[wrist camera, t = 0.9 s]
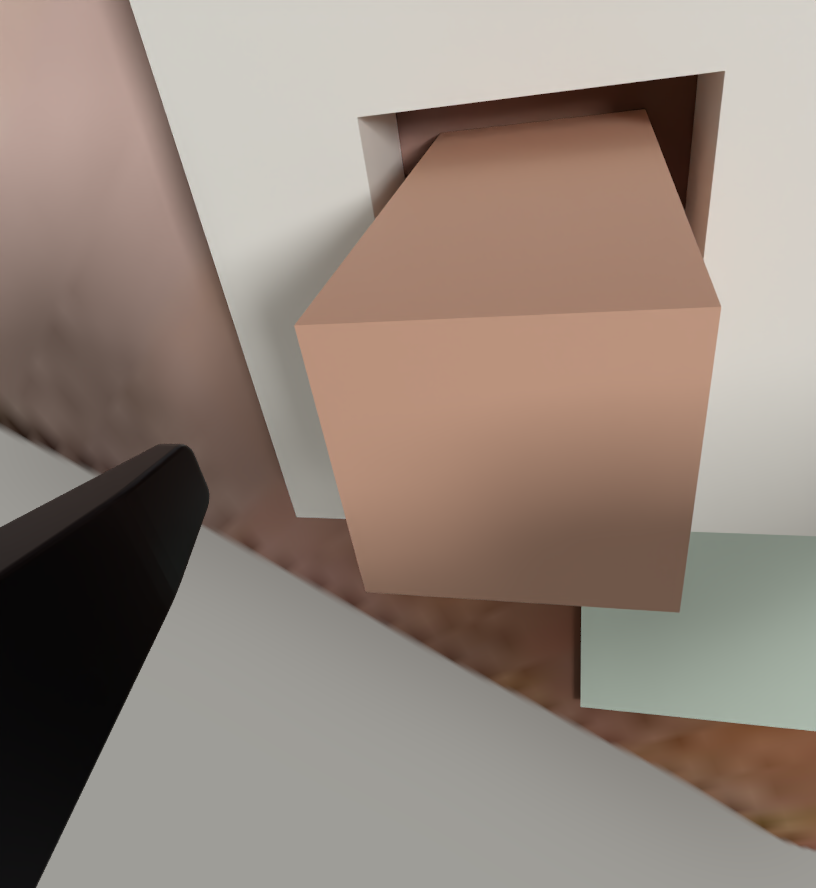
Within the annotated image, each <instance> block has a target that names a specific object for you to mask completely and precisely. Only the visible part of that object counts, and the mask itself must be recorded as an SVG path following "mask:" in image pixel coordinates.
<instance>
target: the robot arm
mask: <svg viewBox="0 0 816 888" xmlns="http://www.w3.org/2000/svg"><path fill="white" fill-rule="evenodd" d="M208 504H209V490H208V487H207V484H206V482H205V479H204V477H203V475H202V472H201V470H200V467H199V465H198V462H197V460H196V458H195V455H194V453H193V451H192V450H191V449H190V448H189V447H188V446H187V445H184V444H160V445H157V446H154V447H153V448H151V449H149V450H147V451H145V452H143V453H141V454H139V455H137V456H135V457H133V458H132V459H130V460H128V461H126V462H124V463H122V464H120V465H118V466H116V467H114V468H113V469H111V470H109V471H107V472H105V473H103V474H101V475H99V476H97V477H95V478H94V479H92V480H90V481H88V482H86V483H84V484H82V485H80V486H78V487H76V488H74V489H72V490H71V491H69V492H67V493H65V494H63V495H61V496H59V497H57V498H55V499H53V500H52V501H50V502H48V503H46V504H44V505H42V506H40V507H38V508H36V509H34V510H32V511H30V512H29V513H27V514H25V515H23V516H21V517H19V518H17V519H15V520H13V521H12V522H10V523H8V524H6V525H4V526H2V527H0V888H36V886H37V884H38V882H39V880H40V878H41V876H42V874H43V872H44V870H45V868H46V866H47V864H48V862H49V859H50V857H51V855H52V853H53V851H54V849H55V847H56V845H57V843H58V841H59V839H60V836H61V834H62V832H63V830H64V828H65V826H66V824H67V822H68V820H69V818H70V816H71V814H72V812H73V809H74V807H75V805H76V803H77V801H78V799H79V797H80V795H81V793H82V791H83V788H84V787H85V784H86V782H87V780H88V778H89V776H90V774H91V772H92V770H93V768H94V766H95V763H96V762H97V759H98V757H99V755H100V753H101V751H102V749H103V747H104V745H105V743H106V741H107V739H108V736H109V734H110V732H111V730H112V728H113V726H114V724H115V722H116V720H117V718H118V716H119V714H120V711H121V709H122V707H123V705H124V703H125V701H126V699H127V697H128V695H129V692H130V691H131V689H132V686H133V684H134V682H135V680H136V678H137V676H138V674H139V672H140V670H141V668H142V666H143V663H144V661H145V659H146V657H147V655H148V653H149V651H150V649H151V647H152V645H153V643H154V640H155V639H156V636H157V634H158V632H159V630H160V628H161V626H162V624H163V622H164V620H165V617H166V615H167V613H168V611H169V609H170V607H171V605H172V603H173V600H174V598H175V595H176V593H177V591H178V588H179V585H180V583H181V580H182V578H183V575H184V572H185V569H186V566H187V564H188V560H189V558H190V555H191V552H192V549H193V547H194V544H195V541H196V538H197V535H198V533H199V530H200V527H201V524H202V522H203V519H204V516H205V513H206V510H207V508H208Z"/></svg>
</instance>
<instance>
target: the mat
mask: <svg viewBox="0 0 816 888" xmlns="http://www.w3.org/2000/svg"><path fill="white" fill-rule="evenodd" d="M581 707H587V708H597V709H607V710H616V711H626V712H636V713H645V714H655V715H665V716H674V717H684V718H694V719H703V720H713V721H723V722H732V723H742V724H751V725H761V726H771V727H780V728H790V729H800V730H809V731H816V536H795V535H768V534H741V533H714V532H691V533H690V540H689V547H688V555H687V562H686V569H685V577H684V584H683V591H682V598H681V606H680V613H677V612H662V611H646V610H631V609H615V608H600V607H585V606H581Z"/></svg>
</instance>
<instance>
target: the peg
mask: <svg viewBox="0 0 816 888" xmlns="http://www.w3.org/2000/svg"><path fill="white" fill-rule="evenodd" d="M720 313H721V304H720V302H719V299H718V297H717V294H716V292H715V289H714V286H713V284H712V281H711V279H710V276H709V273H708V271H707V268H706V266H705V263H704V260H703V258H702V255H701V253H700V250H699V247H698V245H697V242H696V240H695V237H694V235H693V232H692V229H691V227H690V224H689V222H688V219H687V216H686V214H685V211H684V209H683V206H682V203H681V201H680V198H679V196H678V193H677V190H676V188H675V185H674V183H673V180H672V177H671V175H670V172H669V170H668V167H667V165H666V162H665V159H664V157H663V154H662V152H661V149H660V146H659V144H658V141H657V139H656V136H655V133H654V131H653V128H652V126H651V123H650V120H649V118H648V115H647V113H646V110H645V109H642V110H633V111H624V112H616V113H607V114H599V115H590V116H582V117H573V118H564V119H556V120H547V121H539V122H530V123H522V124H513V125H505V126H496V127H487V128H479V129H470V130H462V131H453V132H445V133H440V135H439V136H438V137H437V139H436V140H435V141H434V143H433V144H432V145H431V146H430V148H429V149H428V150H427V152H426V153H425V154H424V156H423V157H422V158H421V160H420V161H419V162H418V164H417V165H416V166H415V167H414V169H413V170H412V171H411V173H410V174H409V175H408V177H407V178H406V179H405V181H404V182H403V183H402V185H401V186H400V187H399V188H398V190H397V191H396V192H395V194H394V195H393V196H392V198H391V199H390V200H389V202H388V203H387V204H386V206H385V207H384V208H383V209H382V211H381V212H380V213H379V215H378V216H377V217H376V219H375V220H374V221H373V223H372V224H371V225H370V227H369V228H368V229H367V230H366V232H365V233H364V234H363V236H362V237H361V238H360V240H359V241H358V242H357V244H356V245H355V246H354V248H353V249H352V250H351V251H350V253H349V254H348V255H347V257H346V258H345V259H344V261H343V262H342V263H341V265H340V266H339V267H338V269H337V270H336V271H335V272H334V274H333V275H332V276H331V278H330V279H329V280H328V282H327V283H326V284H325V286H324V287H323V288H322V290H321V291H320V292H319V293H318V295H317V296H316V297H315V299H314V300H313V301H312V303H311V304H310V305H309V307H308V308H307V309H306V311H305V312H304V313H303V314H302V316H301V317H300V318H299V320H298V321H297V322H296V324H295V325H294V327H295V331H296V334H297V338H298V342H299V346H300V349H301V353H302V357H303V361H304V364H305V368H306V372H307V375H308V379H309V383H310V387H311V390H312V394H313V398H314V402H315V405H316V409H317V413H318V417H319V420H320V424H321V428H322V431H323V435H324V439H325V443H326V446H327V450H328V454H329V458H330V461H331V465H332V469H333V473H334V476H335V480H336V484H337V487H338V491H339V495H340V499H341V502H342V506H343V510H344V514H345V517H346V521H347V525H348V529H349V532H350V536H351V540H352V544H353V547H354V551H355V555H356V558H357V562H358V566H359V570H360V573H361V577H362V581H363V585H364V588H365V592H369V593H384V594H400V595H415V596H430V597H446V598H461V599H477V600H492V601H507V602H523V603H538V604H554V605H569V606H585V607H600V608H615V609H631V610H646V611H662V612H677V613H680V606H681V598H682V591H683V584H684V577H685V569H686V562H687V555H688V547H689V540H690V533H691V525H692V518H693V511H694V503H695V496H696V489H697V481H698V474H699V467H700V459H701V452H702V445H703V437H704V430H705V423H706V416H707V408H708V401H709V394H710V386H711V379H712V372H713V364H714V357H715V350H716V342H717V335H718V328H719V320H720Z"/></svg>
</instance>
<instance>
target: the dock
mask: <svg viewBox="0 0 816 888" xmlns="http://www.w3.org/2000/svg"><path fill="white" fill-rule="evenodd" d="M129 1H130V4H131V7H132V10H133V13H134V16H135V19H136V23H137V26H138V29H139V32H140V35H141V38H142V41H143V44H144V47H145V50H146V53H147V57H148V60H149V63H150V66H151V69H152V72H153V75H154V78H155V81H156V84H157V87H158V91H159V94H160V97H161V100H162V103H163V106H164V109H165V112H166V115H167V118H168V121H169V125H170V128H171V131H172V134H173V137H174V140H175V143H176V146H177V149H178V152H179V155H180V159H181V162H182V165H183V168H184V171H185V174H186V177H187V180H188V183H189V186H190V189H191V193H192V196H193V199H194V202H195V205H196V208H197V211H198V214H199V217H200V220H201V223H202V227H203V230H204V233H205V236H206V239H207V242H208V245H209V248H210V251H211V254H212V257H213V260H214V264H215V267H216V270H217V273H218V276H219V279H220V282H221V285H222V288H223V291H224V294H225V298H226V301H227V304H228V307H229V310H230V313H231V316H232V319H233V322H234V325H235V328H236V332H237V335H238V338H239V341H240V344H241V347H242V350H243V353H244V356H245V359H246V362H247V366H248V369H249V372H250V375H251V378H252V381H253V384H254V387H255V390H256V393H257V396H258V400H259V403H260V406H261V409H262V412H263V415H264V418H265V421H266V424H267V427H268V430H269V434H270V437H271V440H272V443H273V446H274V449H275V452H276V455H277V458H278V461H279V464H280V467H281V471H282V474H283V477H284V480H285V483H286V486H287V489H288V492H289V495H290V498H291V501H292V505H293V508H294V511H295V514H296V517H307V518H334V519H346V517H345V514H344V510H343V506H342V502H341V499H340V495H339V491H338V487H337V484H336V480H335V476H334V473H333V469H332V465H331V461H330V458H329V454H328V450H327V446H326V443H325V439H324V435H323V431H322V428H321V424H320V420H319V417H318V413H317V409H316V405H315V402H314V398H313V394H312V390H311V387H310V383H309V379H308V375H307V372H306V368H305V364H304V361H303V357H302V353H301V349H300V346H299V342H298V338H297V334H296V331H295V327H294V325H295V324H296V322H297V321H298V320H299V318H300V317H301V316H302V314H303V313H304V312H305V311H306V309H307V308H308V307H309V305H310V304H311V303H312V301H313V300H314V299H315V297H316V296H317V295H318V293H319V292H320V291H321V290H322V288H323V287H324V286H325V284H326V283H327V282H328V280H329V279H330V278H331V276H332V275H333V274H334V272H335V271H336V270H337V269H338V267H339V266H340V265H341V263H342V262H343V261H344V259H345V258H346V257H347V255H348V254H349V253H350V251H351V250H352V249H353V248H354V246H355V245H356V244H357V242H358V241H359V240H360V238H361V237H362V236H363V234H364V233H365V232H366V230H367V229H368V228H369V227H370V225H371V224H372V223H373V221H374V220H375V219H376V217H377V216H378V215H379V213H380V212H381V211H382V209H383V208H384V207H385V206H386V204H387V203H388V202H389V200H390V199H391V198H392V196H393V195H394V194H395V192H396V191H397V190H398V188H399V187H400V186H401V185H402V183H403V182H404V181H405V176H404V169H403V162H402V155H401V147H400V140H399V133H398V126H397V119H396V112H403V111H411V110H419V109H427V108H435V107H443V106H451V105H459V104H467V103H474V102H482V101H490V100H498V99H506V98H514V97H522V96H530V95H538V94H545V93H553V92H561V91H569V90H577V89H585V88H593V87H601V86H609V85H616V84H624V83H632V82H640V81H648V80H656V79H664V78H672V77H680V76H687V75H695V74H698V80H697V91H696V101H695V112H694V122H693V133H692V144H691V154H690V165H689V176H688V186H687V197H686V207H685V214H686V216H687V219H688V222H689V224H690V227H691V229H692V232H693V235H694V237H695V240H696V242H697V245H698V247H699V250H700V253H701V255H702V258H703V260H704V263H705V266H706V268H707V271H708V273H709V276H710V279H711V281H712V284H713V286H714V289H715V292H716V294H717V297H718V299H719V302H720V304H721V313H720V320H719V328H718V335H717V342H716V350H715V357H714V364H713V372H712V379H711V386H710V394H709V401H708V408H707V416H706V423H705V430H704V437H703V445H702V452H701V459H700V467H699V474H698V481H697V489H696V496H695V503H694V511H693V518H692V525H691V532H714V533H741V534H768V535H795V536H816V0H129Z"/></svg>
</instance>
